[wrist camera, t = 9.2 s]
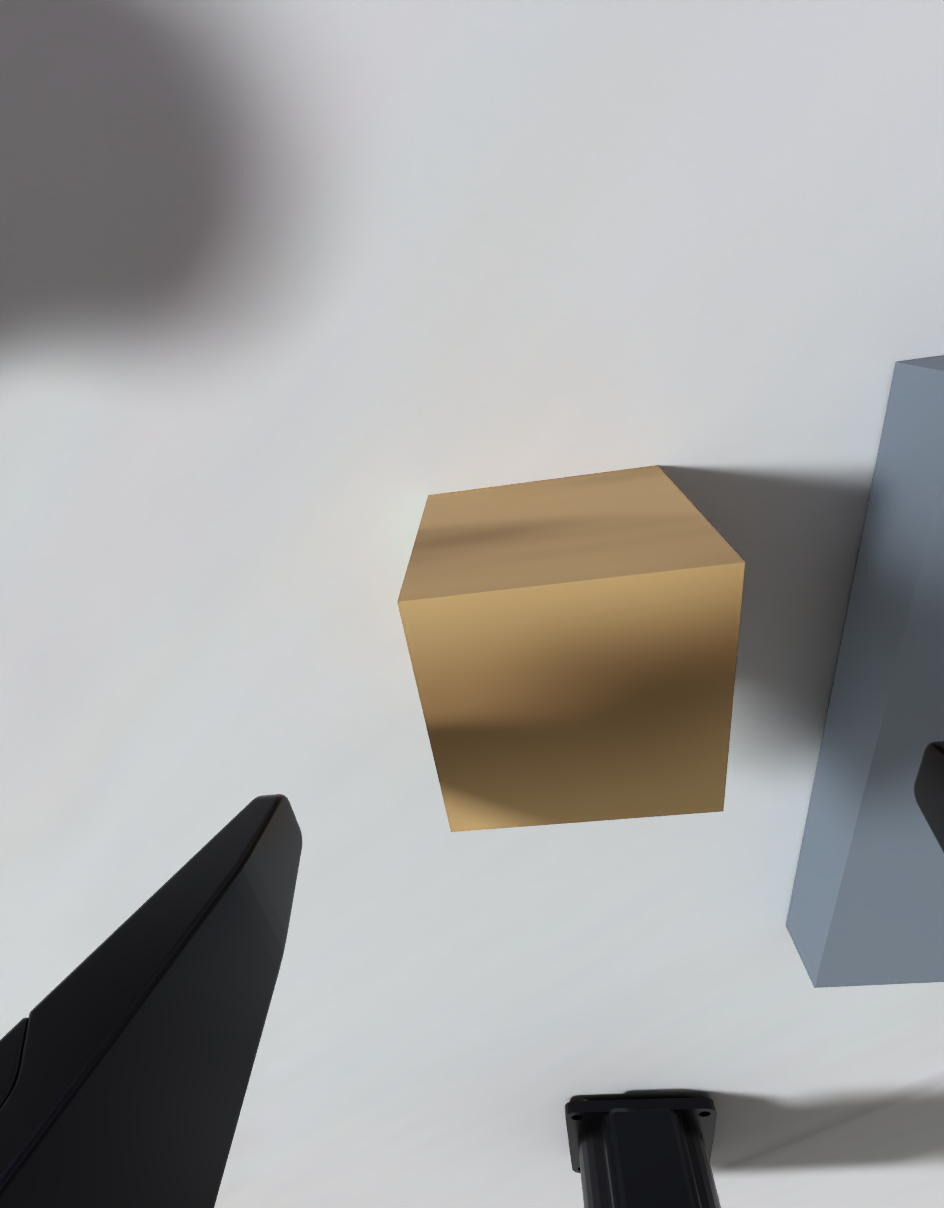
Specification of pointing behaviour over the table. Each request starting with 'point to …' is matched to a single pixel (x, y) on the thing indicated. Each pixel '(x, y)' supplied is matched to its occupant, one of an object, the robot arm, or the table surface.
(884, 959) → the board
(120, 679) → the table surface
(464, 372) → the table surface
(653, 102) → the table surface
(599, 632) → the ochre block
